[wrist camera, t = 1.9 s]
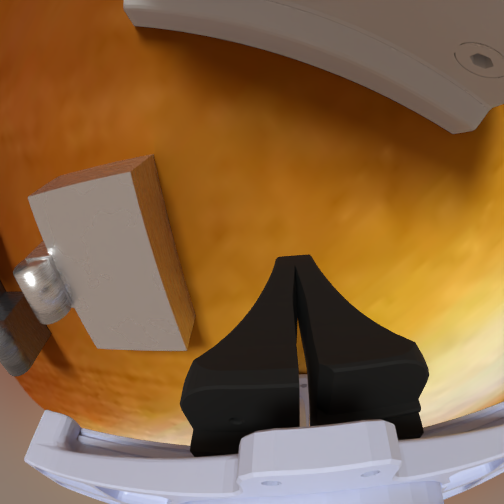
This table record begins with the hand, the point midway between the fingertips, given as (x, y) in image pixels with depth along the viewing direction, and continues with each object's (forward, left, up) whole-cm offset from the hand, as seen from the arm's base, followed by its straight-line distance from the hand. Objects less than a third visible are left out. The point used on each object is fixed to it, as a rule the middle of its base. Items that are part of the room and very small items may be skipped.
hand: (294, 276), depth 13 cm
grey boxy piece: (0, +11, -4) cm, 11 cm away
